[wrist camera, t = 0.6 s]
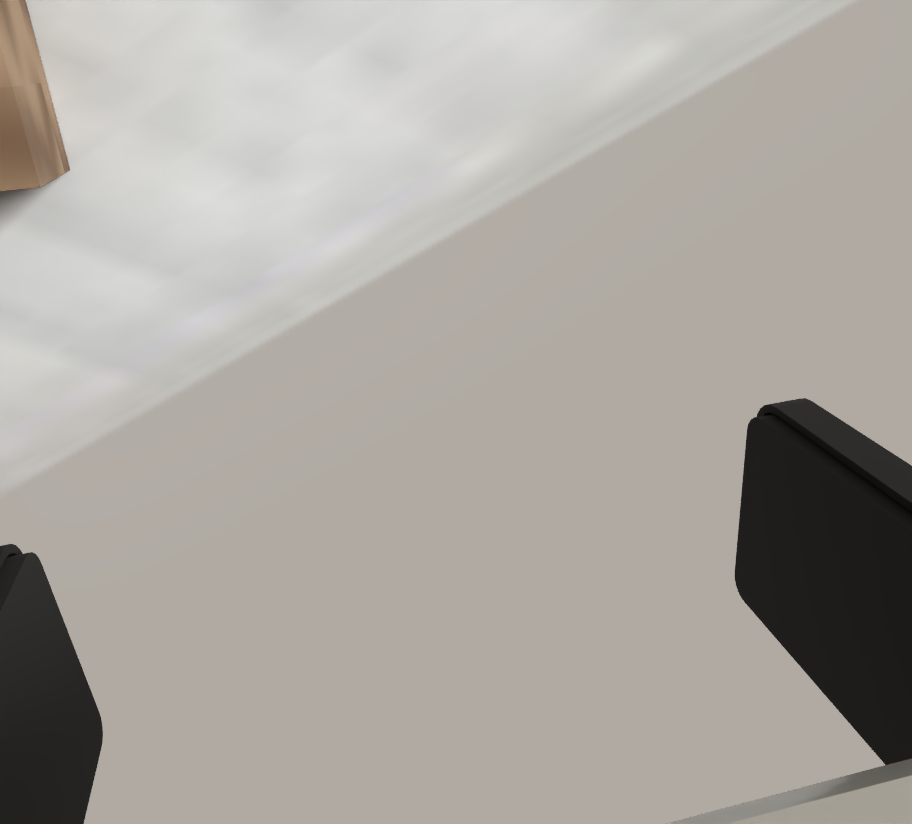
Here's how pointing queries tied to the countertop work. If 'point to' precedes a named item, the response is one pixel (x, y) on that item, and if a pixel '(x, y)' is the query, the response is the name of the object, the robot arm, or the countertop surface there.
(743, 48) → the countertop surface
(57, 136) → the box
